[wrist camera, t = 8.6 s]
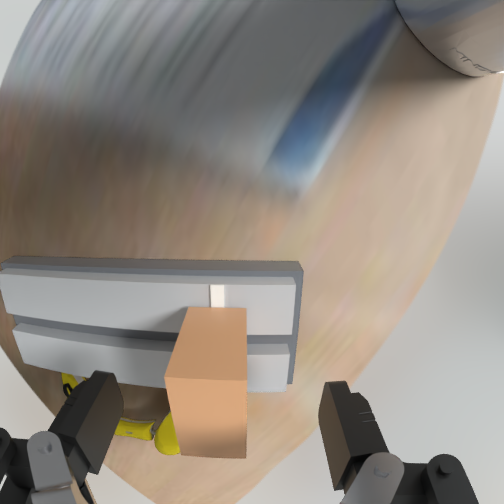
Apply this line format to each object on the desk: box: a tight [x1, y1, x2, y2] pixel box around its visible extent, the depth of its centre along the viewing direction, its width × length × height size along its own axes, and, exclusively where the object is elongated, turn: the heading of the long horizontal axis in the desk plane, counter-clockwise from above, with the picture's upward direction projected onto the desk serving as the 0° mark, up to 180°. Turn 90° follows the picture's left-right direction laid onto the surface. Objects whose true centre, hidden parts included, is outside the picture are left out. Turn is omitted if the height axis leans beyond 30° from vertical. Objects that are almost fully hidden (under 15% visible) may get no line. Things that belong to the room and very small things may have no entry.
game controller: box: [61, 372, 180, 455], centre depth 18 cm, size 10×6×4 cm, turn 89°
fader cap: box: [164, 307, 247, 458], centre depth 12 cm, size 3×4×6 cm, turn 179°
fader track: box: [0, 256, 304, 392], centre depth 16 cm, size 18×7×3 cm, turn 89°
